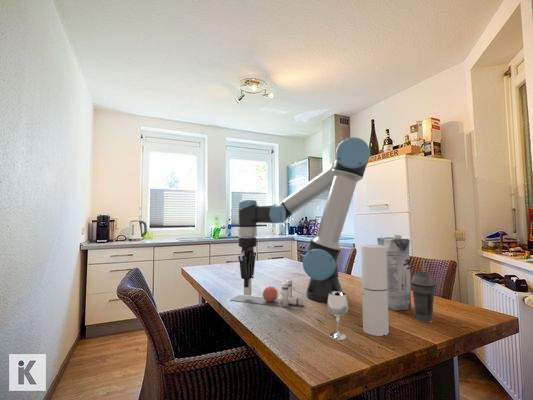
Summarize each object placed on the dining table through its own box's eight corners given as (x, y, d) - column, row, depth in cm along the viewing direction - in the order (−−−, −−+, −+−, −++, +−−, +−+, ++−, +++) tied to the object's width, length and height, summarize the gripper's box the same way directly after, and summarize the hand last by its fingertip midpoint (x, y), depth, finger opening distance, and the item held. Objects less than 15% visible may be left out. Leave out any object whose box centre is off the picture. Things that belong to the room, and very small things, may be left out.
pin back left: (289, 305, 106) (289, 282, 107) (287, 307, 104) (287, 284, 105) (283, 304, 107) (283, 282, 108) (281, 306, 105) (281, 283, 105)
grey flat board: (292, 301, 111) (292, 300, 111) (286, 307, 104) (286, 306, 104) (238, 295, 120) (238, 294, 120) (230, 300, 112) (230, 300, 112)
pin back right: (292, 301, 111) (292, 280, 112) (291, 303, 109) (291, 281, 109) (286, 300, 112) (286, 279, 112) (285, 302, 110) (284, 280, 110)
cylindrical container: (377, 337, 78) (374, 247, 79) (357, 328, 84) (356, 245, 86) (394, 332, 81) (391, 246, 82) (374, 324, 87) (372, 244, 89)
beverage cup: (430, 316, 94) (428, 256, 96) (441, 324, 87) (439, 260, 88) (408, 315, 95) (406, 256, 96) (417, 323, 88) (415, 259, 89)
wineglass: (325, 332, 81) (324, 291, 82) (344, 331, 82) (343, 290, 82) (331, 341, 76) (330, 296, 76) (351, 340, 76) (351, 296, 77)
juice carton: (394, 312, 98) (391, 235, 100) (376, 303, 108) (374, 234, 110) (415, 310, 100) (413, 235, 102) (395, 301, 110) (393, 233, 112)
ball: (273, 281, 114) (263, 291, 115) (268, 285, 108) (257, 294, 109) (282, 293, 112) (272, 302, 113) (278, 297, 106) (267, 307, 108)
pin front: (282, 302, 110) (303, 304, 107) (280, 304, 108) (301, 306, 105) (282, 296, 110) (303, 298, 107) (280, 297, 108) (301, 299, 105)
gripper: (246, 235, 123) (246, 289, 122) (232, 238, 111) (232, 298, 109) (261, 236, 120) (261, 291, 119) (249, 238, 108) (249, 300, 107)
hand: (247, 294), depth 114 cm, fingers closed
